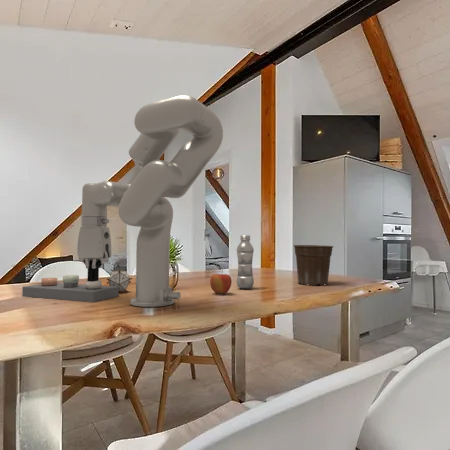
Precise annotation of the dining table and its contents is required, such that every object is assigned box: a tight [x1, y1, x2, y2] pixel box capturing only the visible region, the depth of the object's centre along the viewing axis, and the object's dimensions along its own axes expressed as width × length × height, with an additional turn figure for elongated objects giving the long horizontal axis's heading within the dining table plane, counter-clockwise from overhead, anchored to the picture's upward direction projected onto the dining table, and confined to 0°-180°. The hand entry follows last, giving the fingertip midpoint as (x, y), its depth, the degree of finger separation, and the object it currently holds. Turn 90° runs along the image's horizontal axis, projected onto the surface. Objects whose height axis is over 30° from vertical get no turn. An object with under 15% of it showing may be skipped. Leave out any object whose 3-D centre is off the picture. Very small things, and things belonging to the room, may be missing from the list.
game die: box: [106, 268, 133, 293], centre depth 128 cm, size 9×8×10 cm
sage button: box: [62, 274, 80, 288], centre depth 119 cm, size 5×5×5 cm
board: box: [21, 282, 120, 303], centre depth 119 cm, size 28×12×3 cm, turn 70°
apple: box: [209, 270, 232, 295], centre depth 125 cm, size 7×7×8 cm
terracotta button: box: [40, 277, 58, 286], centre depth 122 cm, size 5×5×5 cm
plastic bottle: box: [236, 234, 255, 290], centre depth 138 cm, size 6×7×20 cm
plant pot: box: [293, 244, 334, 286], centre depth 154 cm, size 16×16×16 cm
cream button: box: [84, 279, 103, 290], centre depth 116 cm, size 5×5×5 cm
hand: (92, 280), depth 116 cm, fingers closed
